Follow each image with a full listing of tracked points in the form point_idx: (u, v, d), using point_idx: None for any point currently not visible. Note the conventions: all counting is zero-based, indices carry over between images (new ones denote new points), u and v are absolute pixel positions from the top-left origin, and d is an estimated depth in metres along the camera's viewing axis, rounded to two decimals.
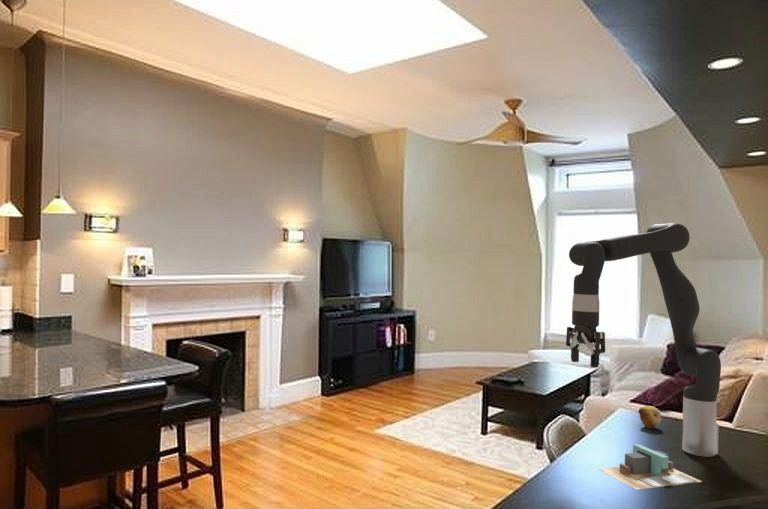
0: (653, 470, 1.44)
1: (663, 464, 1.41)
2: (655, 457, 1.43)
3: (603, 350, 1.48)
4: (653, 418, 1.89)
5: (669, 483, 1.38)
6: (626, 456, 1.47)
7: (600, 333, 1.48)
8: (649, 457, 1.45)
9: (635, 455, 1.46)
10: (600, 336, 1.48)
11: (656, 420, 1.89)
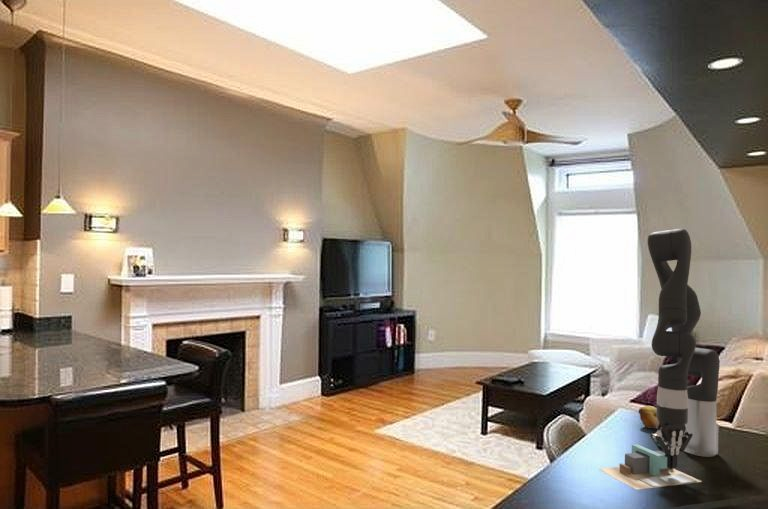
0: (651, 470, 1.44)
1: (662, 464, 1.41)
2: (654, 457, 1.43)
3: None
4: (654, 418, 1.89)
5: (669, 483, 1.38)
6: (626, 456, 1.47)
7: None
8: (649, 457, 1.45)
9: (635, 455, 1.46)
10: None
11: (656, 420, 1.89)
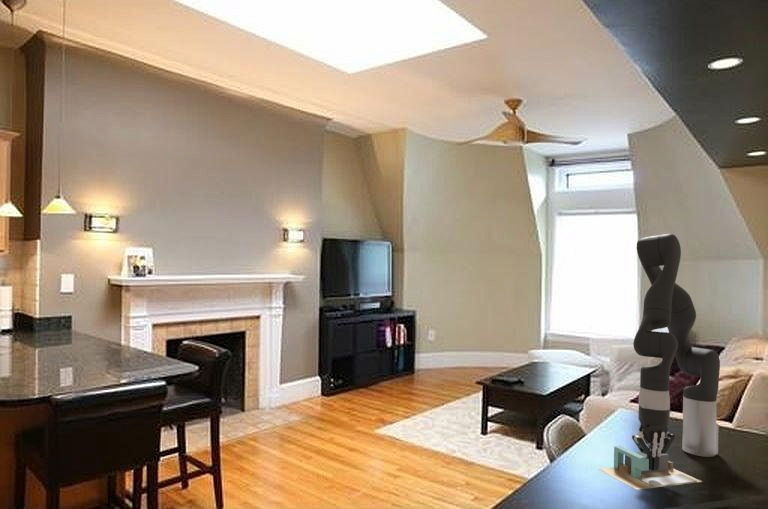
0: (633, 473, 1.42)
1: (644, 466, 1.39)
2: (635, 459, 1.41)
3: None
4: None
5: (669, 483, 1.38)
6: (626, 456, 1.47)
7: None
8: None
9: None
10: None
11: None
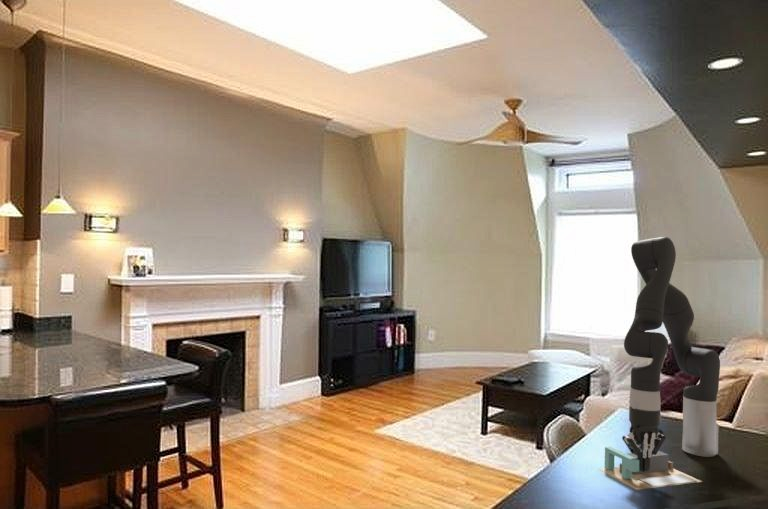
0: (624, 474, 1.41)
1: (634, 467, 1.38)
2: (626, 460, 1.40)
3: None
4: None
5: (669, 483, 1.38)
6: None
7: None
8: None
9: (635, 455, 1.46)
10: None
11: None
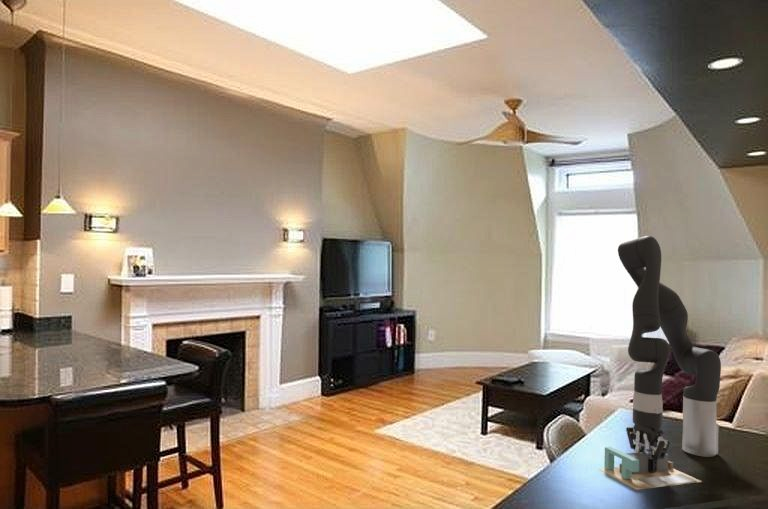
0: (623, 474, 1.41)
1: (634, 467, 1.38)
2: (626, 460, 1.40)
3: None
4: None
5: (669, 483, 1.38)
6: None
7: None
8: None
9: (635, 455, 1.46)
10: None
11: None
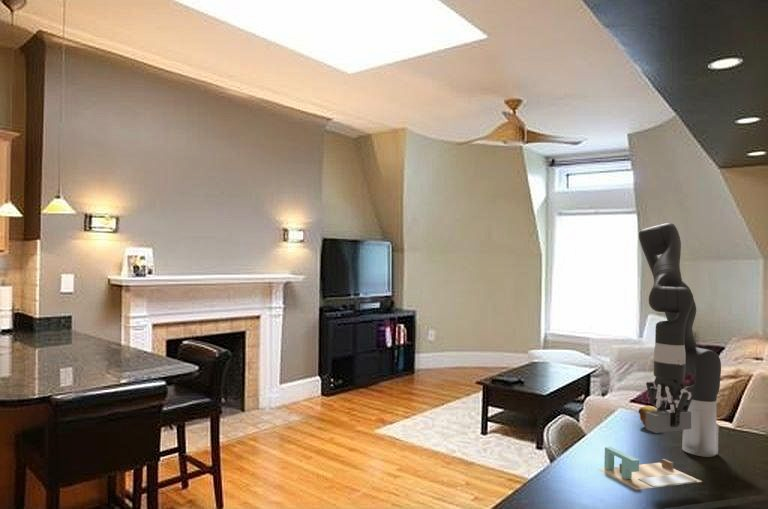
0: (623, 474, 1.41)
1: (634, 467, 1.38)
2: (626, 460, 1.40)
3: None
4: None
5: (669, 483, 1.38)
6: (647, 414, 1.40)
7: None
8: None
9: (656, 413, 1.39)
10: None
11: None
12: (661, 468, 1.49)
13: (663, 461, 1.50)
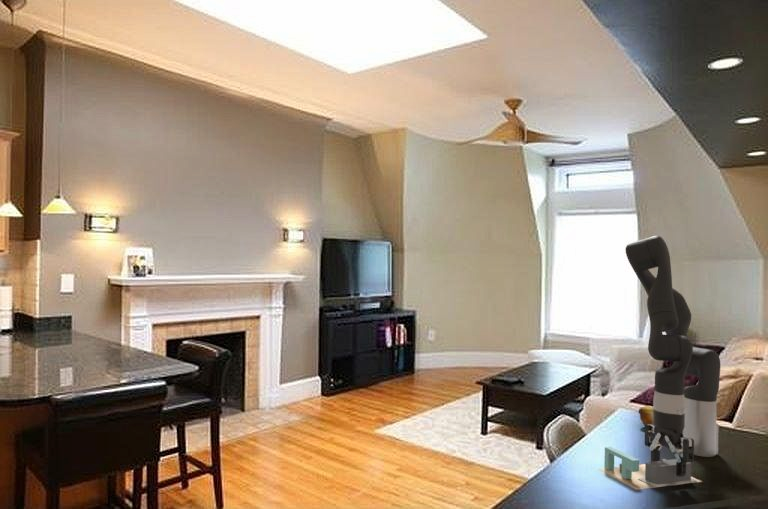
0: (623, 474, 1.41)
1: (634, 467, 1.38)
2: (626, 460, 1.40)
3: None
4: None
5: (669, 483, 1.38)
6: (647, 465, 1.40)
7: None
8: (671, 466, 1.39)
9: (656, 464, 1.39)
10: None
11: None
12: None
13: None
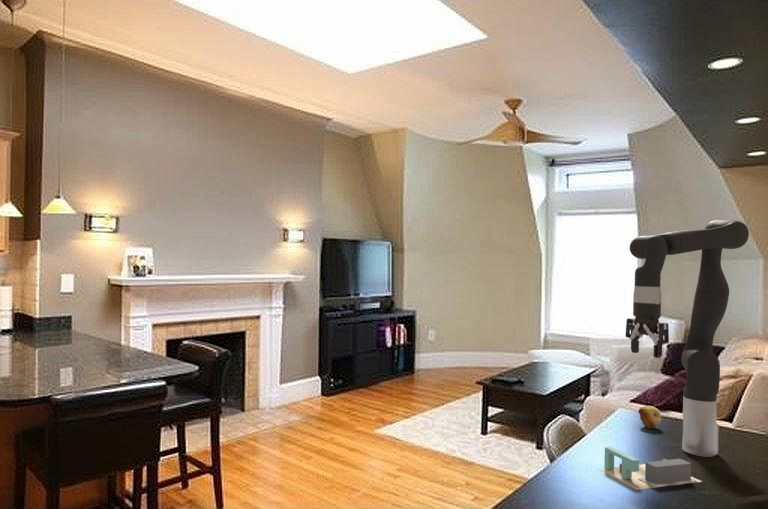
0: (623, 474, 1.41)
1: (634, 467, 1.38)
2: (626, 460, 1.40)
3: None
4: (654, 418, 1.89)
5: (669, 483, 1.38)
6: (647, 465, 1.40)
7: None
8: (671, 466, 1.39)
9: (656, 464, 1.39)
10: None
11: (656, 420, 1.89)
12: None
13: None
